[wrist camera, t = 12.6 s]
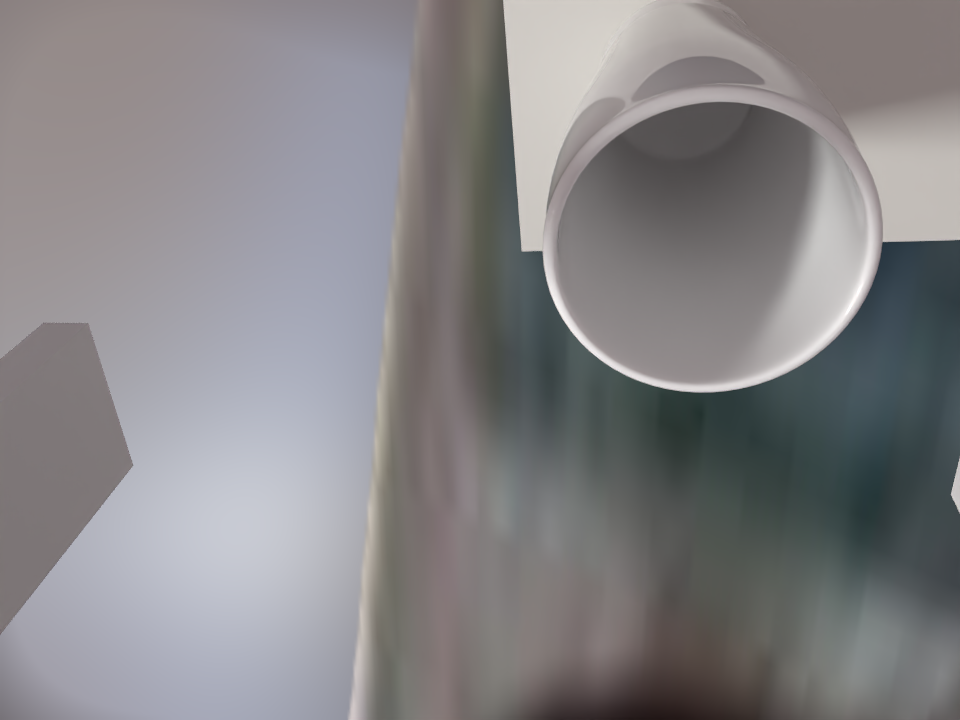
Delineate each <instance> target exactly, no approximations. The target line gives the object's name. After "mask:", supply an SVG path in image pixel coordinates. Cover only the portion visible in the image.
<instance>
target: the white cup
mask: <svg viewBox="0 0 960 720" xmlns="http://www.w3.org/2000/svg"><path fill="white" fill-rule="evenodd" d="M882 241H883V218H882V208H881V203H880V199H879V194H878V190H877V188H876V185H875V182H874V179H873V176H872V174H871V172H870V170H869V168H868V166H867V164H866V162H865V160H864V158H863V156H862V154H861V152H860V150H859V148H858V145H857V143H856V141H855V139H854V137H853V135H852V134H851V132H850V130H849V128H848V127H847V125H846V124H845V122H844V120H843V119H842V117H841V116H840V114H839V113H838V111H837V110H836V108H835V107H834V105H833V104H832V102H831V101H830V100H829V99H828V97H827V96H826V95H825V94H824V92H823V91H822V90H821V89H820V88H819V86H818V85H817V84H816V83H815V82H814V81H813V80H812V79H811V78H810V77H809V76H808V75H807V74H806V73H805V72H804V71H803V70H802V69H801V68H800V67H799V66H797V65H796V64H795V63H794V62H793V61H791V60H790V59H789V58H787V57H786V56H785V55H784V54H782V53H781V52H780V51H778V50H777V49H776V48H774V47H773V46H772V45H770V44H769V43H768V42H766V41H765V40H764V39H762V38H761V37H760V36H758V35H757V34H756V33H754V32H753V31H752V30H751V28H750V27H749V25H748V24H747V23H746V22H745V20H744V19H743V18H742V17H741V16H740V15H739V14H738V13H736V12H735V11H734V10H732V9H731V8H729V7H728V6H726V5H725V4H723V3H721V2H719V1H716V0H656V1H654V2H651V3H649V4H648V5H646V6H644V7H642V8H641V9H639V10H637V11H636V12H635V13H633V14H632V15H631V16H630V17H629V18H627V19H626V20H625V21H624V22H623V23H622V25H621V26H620V27H619V28H618V29H617V31H616V32H615V33H614V35H613V36H612V38H611V40H610V41H609V43H608V45H607V47H606V49H605V52H604V54H603V57H602V60H601V64H600V67H599V69H598V71H597V73H596V75H595V77H594V78H593V80H592V82H591V84H590V85H589V87H588V89H587V91H586V92H585V94H584V96H583V97H582V99H581V101H580V103H579V104H578V106H577V108H576V110H575V112H574V114H573V116H572V118H571V120H570V122H569V124H568V126H567V129H566V131H565V133H564V136H563V139H562V142H561V144H560V147H559V150H558V153H557V156H556V160H555V164H554V168H553V172H552V176H551V180H550V185H549V191H548V198H547V205H546V213H545V225H544V232H543V262H544V269H545V275H546V280H547V283H548V287H549V290H550V293H551V296H552V298H553V301H554V303H555V305H556V307H557V309H558V311H559V313H560V315H561V317H562V319H563V320H564V322H565V323H566V325H567V326H568V327H569V329H570V330H571V332H572V333H573V334H574V335H575V336H576V338H577V339H578V340H579V341H580V342H581V343H582V344H583V345H584V346H585V347H586V348H587V349H588V350H589V351H590V352H591V353H592V354H594V355H595V356H596V357H597V358H599V359H600V360H601V361H603V362H604V363H606V364H607V365H609V366H610V367H612V368H613V369H615V370H617V371H619V372H621V373H622V374H624V375H626V376H629V377H631V378H633V379H635V380H638V381H641V382H644V383H647V384H649V385H653V386H657V387H661V388H665V389H670V390H676V391H685V392H721V391H729V390H735V389H741V388H745V387H749V386H753V385H757V384H760V383H763V382H766V381H769V380H772V379H774V378H777V377H779V376H781V375H783V374H786V373H788V372H790V371H791V370H793V369H795V368H797V367H799V366H801V365H802V364H804V363H805V362H807V361H808V360H810V359H811V358H813V357H814V356H816V355H817V354H818V353H819V352H821V351H822V350H823V349H825V348H826V347H827V346H828V345H829V344H830V343H831V342H832V341H833V340H834V339H835V338H837V337H838V335H839V334H840V333H841V332H842V331H843V330H844V329H845V328H846V327H847V325H848V324H849V323H850V321H851V320H852V319H853V317H854V316H855V315H856V313H857V312H858V310H859V309H860V307H861V305H862V304H863V302H864V300H865V298H866V296H867V294H868V292H869V290H870V288H871V286H872V283H873V280H874V278H875V275H876V272H877V269H878V264H879V260H880V256H881V249H882Z"/></svg>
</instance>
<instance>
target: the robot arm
mask: <svg viewBox="0 0 960 720" xmlns="http://www.w3.org/2000/svg"><path fill="white" fill-rule="evenodd" d="M132 466H133V463H132V460H131V457H130V454H129V451H128V447H127V444H126V441H125V438H124V435H123V432H122V429H121V425H120V422H119V419H118V416H117V413H116V410H115V406H114V403H113V400H112V397H111V394H110V391H109V387H108V384H107V381H106V378H105V375H104V372H103V368H102V365H101V362H100V359H99V356H98V353H97V350H96V346H95V343H94V340H93V337H92V334H91V331H90V328H89V324H88V323H43V324H42V325H40V326H39V327H38V328H37V329H36V330H35V331H33V332H32V333H31V334H30V335H28V336H27V337H26V338H25V339H24V340H23V341H21V342H20V343H19V344H18V345H17V346H15V347H14V348H13V349H12V350H11V351H9V352H8V353H7V354H6V355H5V356H3V357H2V358H1V359H0V634H1V633H2V632H3V631H4V629H5V628H6V626H7V625H8V624H9V623H10V622H11V620H12V619H13V618H14V617H15V615H16V614H17V613H18V611H19V610H20V609H21V608H22V606H23V605H24V604H25V603H26V601H27V600H28V599H29V597H30V596H31V595H32V594H33V592H34V591H35V590H36V589H37V587H38V586H39V585H40V583H41V582H42V581H43V580H44V578H45V577H46V576H47V574H48V573H49V572H50V571H51V569H52V568H53V567H54V566H55V564H56V563H57V562H58V561H59V559H60V558H61V557H62V555H63V554H64V553H65V552H66V550H67V549H68V548H69V547H70V545H71V544H72V543H73V541H74V540H75V539H76V538H77V536H78V535H79V534H80V533H81V531H82V530H83V529H84V527H85V526H86V525H87V524H88V522H89V521H90V520H91V519H92V517H93V516H94V515H95V513H96V512H97V511H98V510H99V508H100V507H101V506H102V504H103V503H104V502H105V501H106V499H107V498H108V497H109V496H110V494H111V493H112V492H113V490H114V489H115V488H116V487H117V485H118V484H119V483H120V482H121V480H122V479H123V478H124V476H125V475H126V474H127V473H128V471H129V470H130V469H131V467H132ZM951 495H952V498H953V500H954V502H955V504H956V506H957V508H958V510H959V512H960V459H959V463H958V467H957V472H956V476H955V480H954V484H953V488H952V493H951Z"/></svg>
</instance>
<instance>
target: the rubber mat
mask: <svg viewBox="0 0 960 720" xmlns="http://www.w3.org/2000/svg"><path fill="white" fill-rule="evenodd" d="M654 1H656V0H503V3H504V16H505V30H506V43H507V57H508V70H509V84H510V97H511V111H512V124H513V138H514V151H515V165H516V178H517V192H518V205H519V219H520V232H521V246H522V251H543V232H544V225H545V213H546V205H547V198H548V191H549V185H550V180H551V176H552V172H553V168H554V164H555V160H556V156H557V153H558V150H559V147H560V144H561V142H562V139H563V136H564V133H565V131H566V129H567V126H568V124H569V122H570V120H571V118H572V116H573V114H574V112H575V110H576V108H577V106H578V104H579V103H580V101H581V99H582V97H583V96H584V94H585V92H586V91H587V89H588V87H589V85H590V84H591V82H592V80H593V78H594V77H595V75H596V73H597V71H598V69H599V67H600V64H601V60H602V57H603V54H604V52H605V49H606V47H607V45H608V43H609V41H610V40H611V38H612V36H613V35H614V33H615V32H616V31H617V29H618V28H619V27H620V26H621V25H622V23H623V22H624V21H625V20H626V19H627V18H629V17H630V16H631V15H632V14H633V13H635V12H636V11H637V10H639V9H641V8H642V7H644V6H646V5H648V4H649V3H651V2H654ZM716 1H719V2H721V3H723V4H725V5H726V6H728V7H729V8H731V9H732V10H734V11H735V12H736V13H738V14H739V15H740V16H741V17H742V18H743V19H744V20H745V22H746V23H747V24H748V25H749V27H750V28H751V30H752V31H753V32H754V33H756V34H757V35H758V36H760V37H761V38H762V39H764V40H765V41H766V42H768V43H769V44H770V45H772V46H773V47H774V48H776V49H777V50H778V51H780V52H781V53H782V54H784V55H785V56H786V57H787V58H789V59H790V60H791V61H793V62H794V63H795V64H796V65H797V66H799V67H800V68H801V69H802V70H803V71H804V72H805V73H806V74H807V75H808V76H809V77H810V78H811V79H812V80H813V81H814V82H815V83H816V84H817V85H818V86H819V88H820V89H821V90H822V91H823V92H824V94H825V95H826V96H827V97H828V99H829V100H830V101H831V102H832V104H833V105H834V107H835V108H836V110H837V111H838V113H839V114H840V116H841V117H842V119H843V120H844V122H845V124H846V125H847V127H848V128H849V130H850V132H851V134H852V135H853V137H854V139H855V141H856V143H857V145H858V148H859V150H860V152H861V154H862V156H863V158H864V160H865V162H866V164H867V166H868V168H869V170H870V172H871V174H872V176H873V179H874V182H875V185H876V188H877V190H878V194H879V199H880V203H881V208H882V218H883V241H882V242H897V241H936V240H960V0H716Z"/></svg>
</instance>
